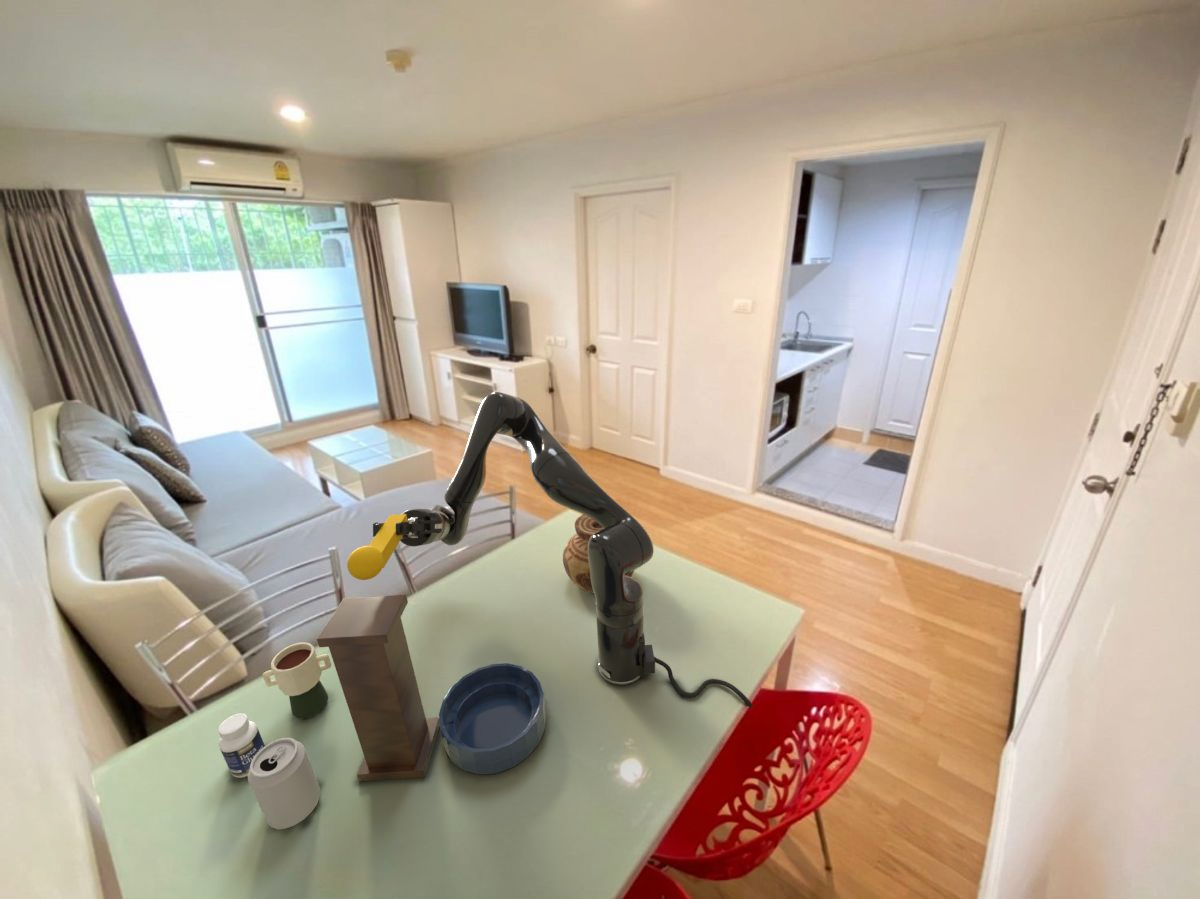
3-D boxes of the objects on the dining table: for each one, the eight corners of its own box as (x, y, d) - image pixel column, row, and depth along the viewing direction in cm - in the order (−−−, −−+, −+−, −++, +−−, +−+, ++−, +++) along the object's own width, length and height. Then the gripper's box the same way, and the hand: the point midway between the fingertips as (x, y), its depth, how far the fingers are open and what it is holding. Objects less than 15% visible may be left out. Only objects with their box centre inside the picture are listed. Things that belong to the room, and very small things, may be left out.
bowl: (548, 683, 99) (546, 660, 96) (542, 772, 82) (539, 747, 80) (457, 689, 98) (453, 666, 96) (432, 780, 81) (426, 755, 79)
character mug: (343, 683, 101) (327, 634, 96) (341, 711, 95) (323, 659, 90) (282, 703, 97) (262, 652, 92) (276, 732, 91) (254, 680, 86)
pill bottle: (250, 781, 82) (231, 740, 79) (223, 776, 84) (204, 735, 80) (276, 751, 87) (259, 711, 84) (250, 746, 88) (233, 707, 85)
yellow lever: (415, 525, 92) (409, 501, 90) (379, 585, 75) (372, 557, 73) (386, 527, 91) (381, 502, 89) (345, 588, 75) (337, 559, 73)
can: (257, 822, 76) (232, 770, 72) (300, 776, 83) (279, 726, 78) (290, 841, 74) (267, 788, 69) (332, 793, 80) (313, 741, 76)
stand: (440, 723, 91) (410, 592, 80) (425, 777, 82) (388, 637, 71) (381, 727, 91) (342, 596, 80) (358, 781, 82) (310, 641, 70)
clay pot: (649, 593, 118) (615, 528, 111) (579, 618, 121) (542, 557, 114) (643, 547, 136) (614, 489, 129) (583, 570, 139) (550, 515, 132)
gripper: (387, 510, 103) (346, 510, 86) (455, 506, 103) (427, 505, 86) (387, 547, 102) (346, 553, 85) (455, 543, 102) (428, 549, 85)
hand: (387, 529), depth 85 cm, fingers closed on yellow lever, 3 cm apart
